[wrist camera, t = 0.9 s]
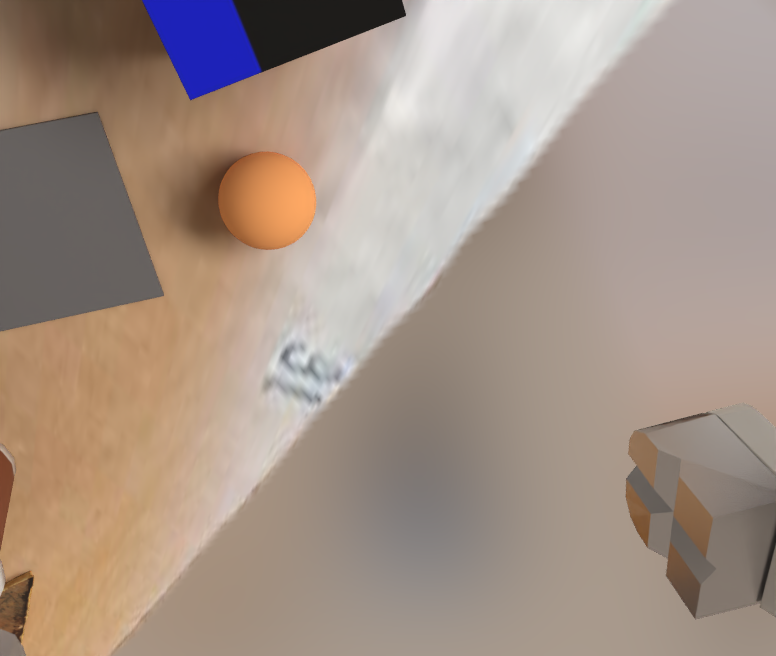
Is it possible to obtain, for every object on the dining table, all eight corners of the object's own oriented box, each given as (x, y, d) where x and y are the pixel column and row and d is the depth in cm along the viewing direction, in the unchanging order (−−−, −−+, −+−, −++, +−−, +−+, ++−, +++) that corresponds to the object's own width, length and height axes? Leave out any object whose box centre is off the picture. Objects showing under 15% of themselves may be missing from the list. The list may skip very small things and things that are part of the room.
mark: (-129, 154, 38) (-130, 155, 38) (97, 111, 39) (97, 112, 39) (-27, 335, 45) (-28, 337, 45) (163, 294, 46) (163, 295, 46)
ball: (206, 148, 42) (206, 183, 37) (300, 130, 42) (311, 162, 38) (230, 233, 45) (233, 275, 40) (317, 215, 45) (329, 254, 41)
